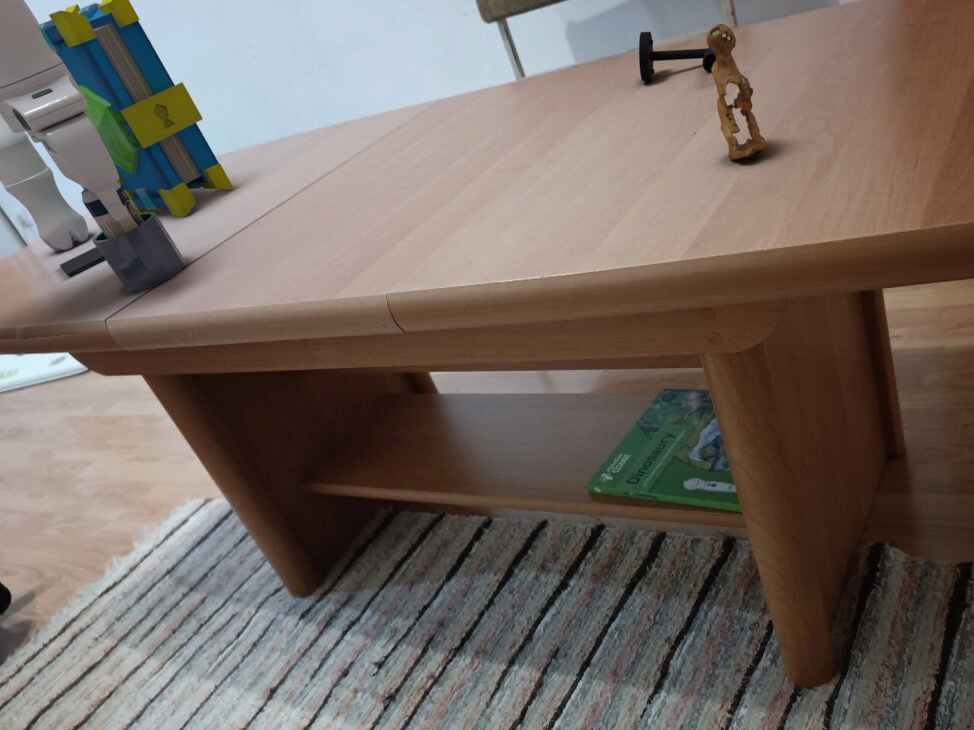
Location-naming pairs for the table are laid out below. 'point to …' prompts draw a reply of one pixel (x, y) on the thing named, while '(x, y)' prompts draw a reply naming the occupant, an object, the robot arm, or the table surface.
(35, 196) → the water bottle
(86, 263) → the mat
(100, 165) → the robot arm
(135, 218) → the supplement bottle
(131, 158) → the decorative book
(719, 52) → the figurine
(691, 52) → the light fixture
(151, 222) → the cup
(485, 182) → the table surface
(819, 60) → the table surface
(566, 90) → the table surface
